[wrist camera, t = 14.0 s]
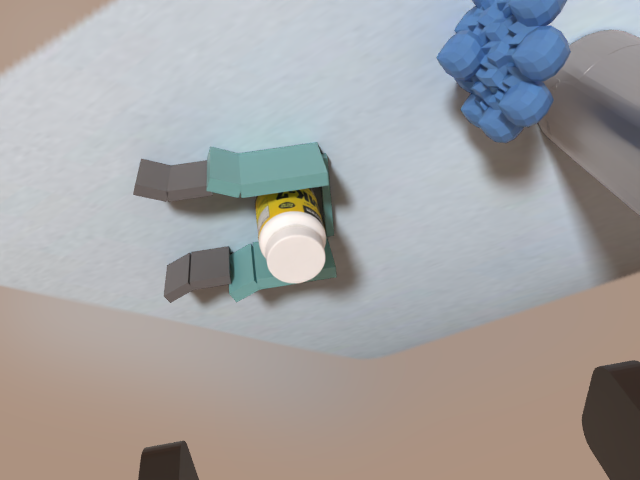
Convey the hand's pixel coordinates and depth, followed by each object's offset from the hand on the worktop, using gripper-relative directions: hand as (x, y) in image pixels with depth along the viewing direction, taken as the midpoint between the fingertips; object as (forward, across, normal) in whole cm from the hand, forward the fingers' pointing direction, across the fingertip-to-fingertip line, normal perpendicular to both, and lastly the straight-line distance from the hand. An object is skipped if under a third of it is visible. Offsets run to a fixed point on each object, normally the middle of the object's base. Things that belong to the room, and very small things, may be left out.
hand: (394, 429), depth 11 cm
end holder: (+33, 0, +13) cm, 36 cm away
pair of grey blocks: (+33, +8, +13) cm, 37 cm away
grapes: (+33, -13, +2) cm, 36 cm away
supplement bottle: (+33, 0, +13) cm, 36 cm away
